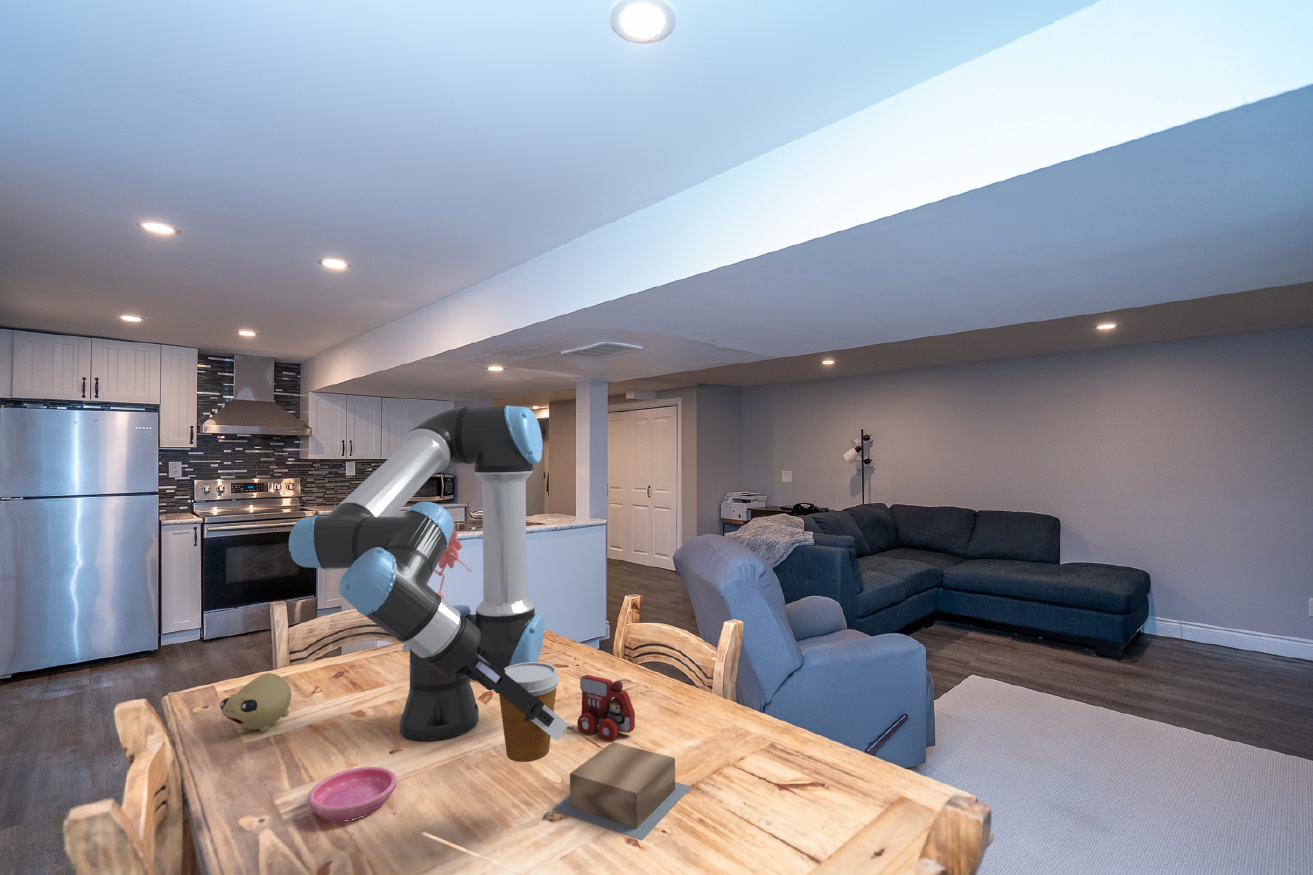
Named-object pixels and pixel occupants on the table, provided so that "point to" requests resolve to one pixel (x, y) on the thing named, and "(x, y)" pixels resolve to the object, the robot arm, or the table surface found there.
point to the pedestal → (622, 784)
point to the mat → (622, 828)
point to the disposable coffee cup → (520, 736)
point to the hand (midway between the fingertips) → (547, 720)
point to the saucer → (352, 793)
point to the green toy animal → (259, 703)
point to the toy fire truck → (605, 708)
